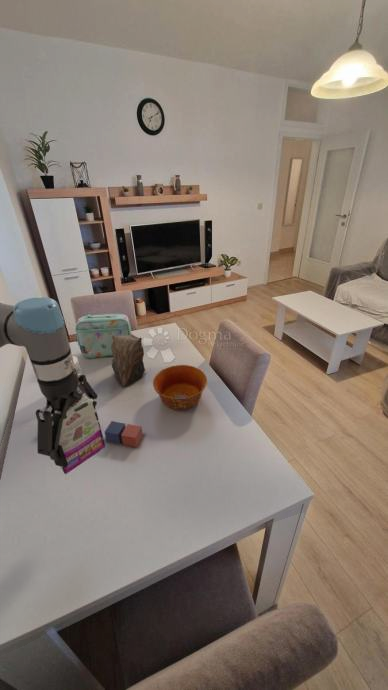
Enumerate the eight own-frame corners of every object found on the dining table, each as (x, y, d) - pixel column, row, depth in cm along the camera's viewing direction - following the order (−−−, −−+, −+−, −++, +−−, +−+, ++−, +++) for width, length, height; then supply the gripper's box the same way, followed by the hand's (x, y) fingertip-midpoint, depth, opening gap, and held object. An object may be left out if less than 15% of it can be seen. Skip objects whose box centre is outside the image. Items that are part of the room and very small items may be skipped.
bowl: (157, 422, 101) (155, 401, 96) (152, 386, 119) (150, 367, 114) (212, 414, 105) (213, 393, 100) (199, 380, 123) (200, 361, 118)
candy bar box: (96, 437, 75) (84, 390, 67) (106, 447, 73) (95, 399, 64) (55, 463, 68) (36, 414, 60) (64, 475, 65) (46, 426, 57)
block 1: (106, 442, 93) (104, 431, 91) (113, 431, 97) (111, 420, 95) (120, 445, 92) (118, 434, 90) (126, 433, 96) (125, 423, 94)
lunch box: (78, 361, 136) (68, 322, 126) (81, 350, 145) (72, 313, 134) (133, 355, 141) (128, 317, 130) (133, 345, 150) (128, 308, 139)
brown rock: (112, 374, 127) (105, 336, 117) (137, 365, 133) (133, 328, 123) (123, 388, 118) (116, 348, 108) (149, 378, 124) (145, 339, 114)
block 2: (123, 445, 92) (121, 435, 90) (129, 434, 96) (127, 423, 94) (137, 448, 91) (135, 437, 88) (142, 436, 95) (141, 426, 93)
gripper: (29, 416, 46) (59, 492, 57) (102, 346, 67) (114, 412, 78) (-8, 408, 48) (29, 484, 59) (75, 342, 68) (91, 408, 79)
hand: (78, 443), depth 68 cm, fingers closed on candy bar box, 12 cm apart
